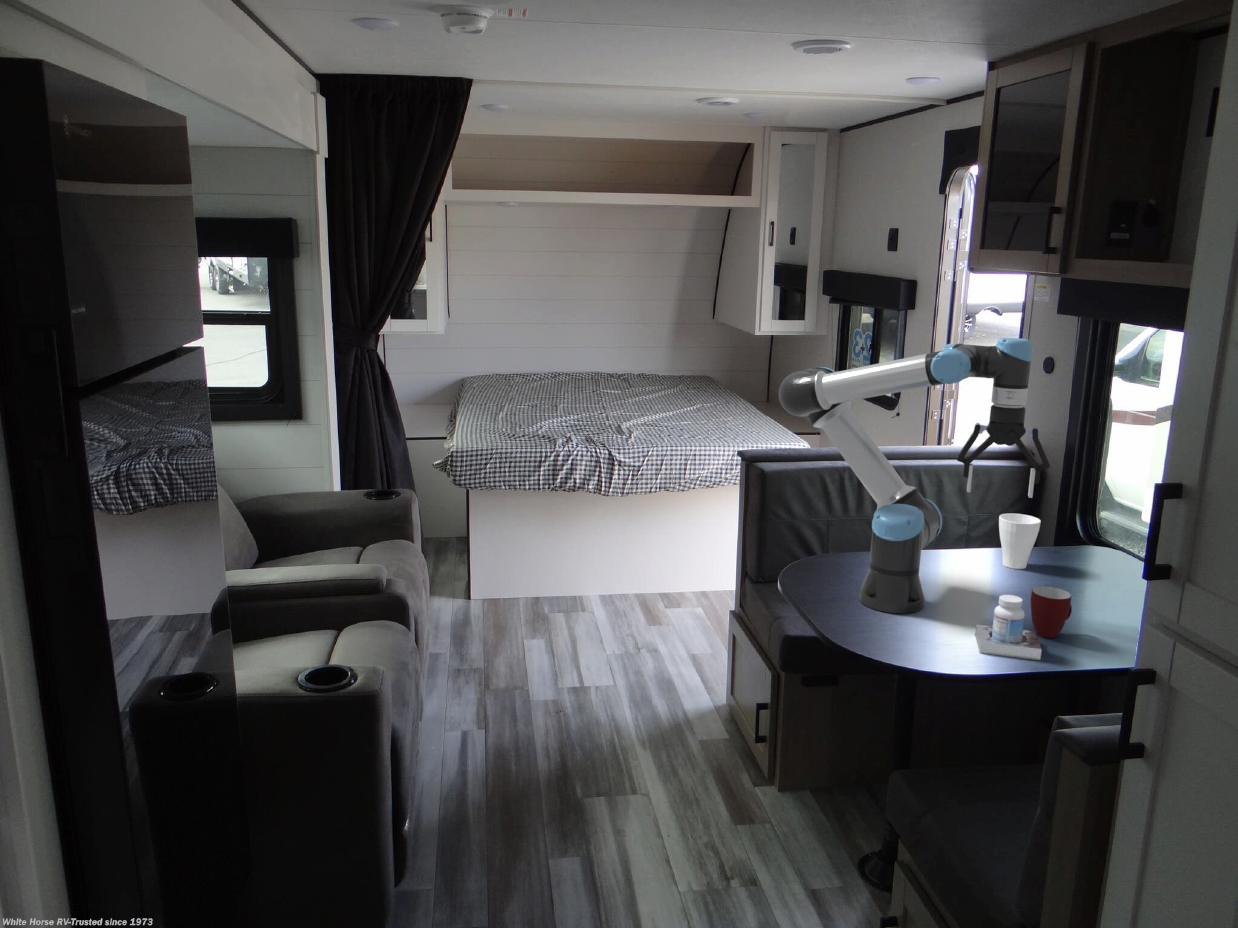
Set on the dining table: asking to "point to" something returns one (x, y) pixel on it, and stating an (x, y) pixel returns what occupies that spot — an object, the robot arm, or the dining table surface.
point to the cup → (1017, 538)
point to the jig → (1008, 644)
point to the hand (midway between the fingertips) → (999, 493)
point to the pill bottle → (1008, 620)
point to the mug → (1049, 610)
